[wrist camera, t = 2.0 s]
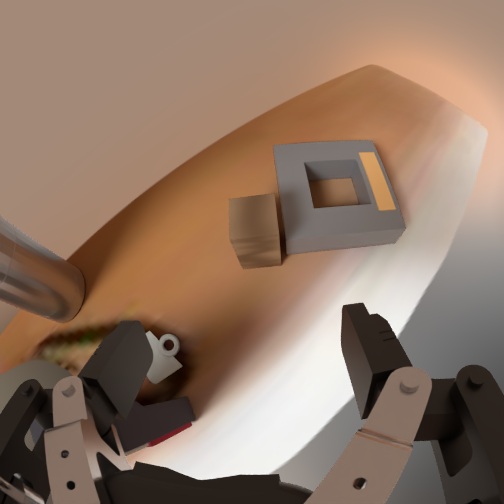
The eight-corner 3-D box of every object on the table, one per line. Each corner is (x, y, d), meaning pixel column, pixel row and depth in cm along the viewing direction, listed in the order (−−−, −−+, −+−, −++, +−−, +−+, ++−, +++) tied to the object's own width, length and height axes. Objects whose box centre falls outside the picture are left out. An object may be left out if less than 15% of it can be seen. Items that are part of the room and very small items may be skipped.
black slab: (123, 437, 25) (37, 458, 11) (112, 406, 27) (23, 412, 13) (199, 425, 25) (129, 463, 12) (186, 391, 27) (108, 403, 14)
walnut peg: (243, 269, 32) (229, 239, 25) (241, 235, 34) (228, 198, 27) (281, 265, 32) (279, 234, 25) (277, 231, 34) (274, 193, 26)
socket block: (286, 254, 32) (286, 239, 28) (274, 164, 38) (272, 144, 34) (394, 243, 31) (406, 227, 27) (366, 159, 37) (372, 139, 33)
